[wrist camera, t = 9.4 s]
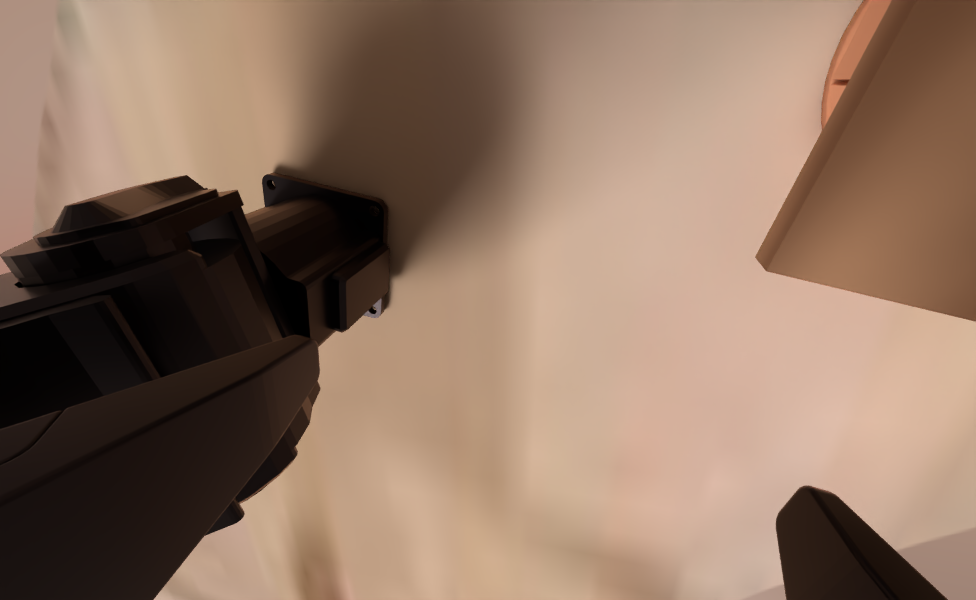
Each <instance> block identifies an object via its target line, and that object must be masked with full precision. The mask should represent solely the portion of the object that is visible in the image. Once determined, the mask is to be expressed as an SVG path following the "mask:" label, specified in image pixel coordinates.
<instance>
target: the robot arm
mask: <svg viewBox="0 0 976 600" xmlns="http://www.w3.org/2000/svg"><path fill="white" fill-rule="evenodd" d="M272 181H273V182H274V183H275V185H276V187H275V186H274V185H273V183H272ZM262 185H263V194H264V202H265V207H264V208H262V209H259V210H256V211H254V212H251V213H248V214H245V215H244V212H243V210H242V207H241V206H243V205H244V204H243V202H242V199H241V197H240V195H239V192H238V190H232V191H225V192H217V189H209V190H208V189H207V188H203V187H202V186H200V185H199V184H198V183H196V182H195V181H194V180H192V179H191V178H190V177H188V176H187V175H185V176H179V177H173V178H169V179H164V180H160V181H155V182H151V183H147V184H142V185H138V186H134V187H130V188H125V189H121V190H118V191H114V192H111V193H107V194H104V195H100V196H97V197H94V198H90V199H87V200H83V201H80V202H77V203H73V204H70V205H67V206H65V207H64V208H63V210H62V212H61V214H60V216H59V217H58V219H57V221H56V223H55V225H54V226H53V228H50V229H48V230H46V231H44V232H41V233H39V234H37V235H35V236H34V237H33V238H34V239H31V240H29V241H27V242H25V243H23V244H21V245H18V246H16V247H14V248H12V249H10V250H7V251H5V252H3V253H2V254H0V256H1V258H2V259H3V261H4V262H5V263H6V265H7V266H8V268H9V269H10V270H11V272H9V273H6V274H2V275H0V600H154V598H155V597H156V596H157V595H158V593H159V592H160V591H161V590H162V588H163V587H164V586H165V584H166V583H167V582H168V581H169V579H170V578H171V577H172V576H173V574H174V573H175V572H176V571H177V569H178V568H179V567H180V566H181V564H182V563H183V562H184V561H185V559H186V558H187V557H188V556H189V554H190V553H191V552H192V551H193V549H194V548H195V547H196V546H197V544H198V543H199V542H200V541H201V539H202V538H203V537H204V536H205V535H208V534H210V533H213V532H215V531H218V530H220V529H223V528H225V527H228V526H230V525H233V524H235V523H237V522H239V521H240V520H241V519H242V518H243V517H244V511H243V509H242V507H241V506H240V504H241V503H242V502H244V501H246V500H248V499H249V498H251V497H252V496H254V495H255V494H257V493H258V492H260V491H261V490H262V489H263V488H265V487H266V486H267V485H268V484H269V483H270V482H272V481H273V480H274V479H276V478H277V477H278V476H279V475H280V474H281V473H282V472H283V471H284V470H285V469H286V468H287V467H288V466H289V465H290V464H291V463H292V462H293V460H294V459H295V457H296V456H297V452H298V451H297V449H296V447H295V446H296V445H297V444H298V442H299V440H300V439H301V437H302V435H303V433H304V432H305V430H306V428H307V427H308V425H309V423H310V418H311V412H312V407H313V404H314V402H315V400H316V398H317V396H318V393H319V391H320V386H319V383H318V381H317V380H318V378H319V373H320V368H319V353H318V347H319V346H320V345H321V344H322V343H323V342H324V341H325V340H326V339H328V338H329V337H330V336H331V335H332V334H333V333H334V332H335V331H338V332H344V331H346V330H348V329H349V328H350V327H351V326H352V325H353V324H354V323H355V322H356V321H357V320H358V319H359V318H361V317H362V316H363V315H365V316H368V317H371V318H377V317H379V316H380V315H381V314H382V313H383V312H384V308H385V294H386V293H387V292H388V287H389V263H390V248H389V246H388V244H387V225H388V208H387V205H386V204H385V202H384V201H383V200H381V199H378V198H374V197H370V196H366V195H362V194H358V193H354V192H350V191H346V190H342V189H338V188H334V187H330V186H326V185H322V184H318V183H314V182H310V181H306V180H302V179H298V178H294V177H290V176H286V175H282V174H278V173H271V174H267V175H265V176H264V177H263V179H262ZM374 206H376V207H377V208H378V209H379V214H377V213H376V212H375V211H374V208H373V207H374ZM372 306H374V307H375V308H376V310H374V309H373V308H372ZM776 532H777V539H778V546H779V553H780V559H781V566H782V573H783V580H784V586H785V594H786V600H948V599H947V598H945V596H943V595H942V594H941V593H940V592H939V591H938V590H937V589H936V588H935V587H934V586H933V585H932V584H931V583H930V582H928V581H927V580H926V579H925V578H924V577H923V576H922V575H921V574H920V573H919V572H918V571H917V570H916V569H915V568H914V567H912V566H911V565H910V564H909V563H908V562H907V561H906V560H905V559H904V558H903V557H902V556H901V555H899V554H898V553H897V552H896V551H895V550H894V549H893V548H892V547H891V546H890V545H889V544H888V543H887V542H886V541H885V540H884V539H883V538H881V537H880V536H879V535H878V534H877V533H876V532H875V531H874V530H873V529H872V528H871V527H870V526H869V525H868V524H867V523H865V522H864V521H863V520H862V519H861V518H860V517H859V516H858V515H857V514H856V513H855V512H854V511H853V510H852V509H850V508H849V507H848V506H847V505H846V504H845V503H844V502H843V501H842V500H841V499H840V498H839V497H838V496H836V495H835V494H833V493H831V492H829V491H826V490H822V489H819V488H816V487H812V486H803V487H800V488H799V489H798V490H797V491H796V493H795V494H794V495H793V496H792V497H791V499H790V500H789V501H788V502H787V503H786V504H785V506H784V507H783V508H782V509H781V510H780V512H779V513H778V516H777V519H776Z"/></svg>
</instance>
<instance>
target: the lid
mask: <svg viewBox="0 0 976 600" xmlns="http://www.w3.org/2000/svg"><path fill="white" fill-rule="evenodd" d="M755 258H756V259H757V260H758V261H759V263H760V264H761V265H762V266H763V268H764V269H765V270H766V271H768V272H772V273H776V274H780V275H785V276H789V277H793V278H797V279H801V280H805V281H809V282H814V283H818V284H822V285H826V286H830V287H834V288H839V289H843V290H847V291H851V292H855V293H859V294H864V295H868V296H872V297H876V298H880V299H884V300H888V301H893V302H897V303H901V304H905V305H909V306H913V307H918V308H922V309H926V310H930V311H934V312H938V313H943V314H947V315H951V316H955V317H959V318H963V319H968V320H972V321H976V0H892V1H891V3H890V5H889V6H888V8H887V10H886V12H885V14H884V16H883V18H882V20H881V21H880V23H879V25H878V27H877V29H876V31H875V33H874V35H873V36H872V38H871V40H870V42H869V44H868V46H867V48H866V50H865V52H864V53H863V55H862V57H861V59H860V61H859V63H858V65H857V67H856V68H855V70H854V72H853V74H852V76H851V78H850V80H849V82H848V84H847V85H846V87H845V89H844V91H843V93H842V95H841V97H840V99H839V100H838V102H837V104H836V106H835V108H834V110H833V112H832V114H831V115H830V117H829V119H828V121H827V123H826V125H825V127H824V129H823V131H822V132H821V134H820V136H819V138H818V140H817V142H816V144H815V146H814V147H813V149H812V151H811V153H810V155H809V157H808V159H807V161H806V163H805V164H804V166H803V168H802V170H801V172H800V174H799V176H798V178H797V179H796V181H795V183H794V185H793V187H792V189H791V191H790V193H789V195H788V196H787V198H786V200H785V202H784V204H783V206H782V208H781V210H780V211H779V213H778V215H777V217H776V219H775V221H774V223H773V225H772V226H771V228H770V230H769V232H768V234H767V236H766V238H765V240H764V242H763V243H762V245H761V247H760V249H759V251H758V253H757V255H756V257H755Z"/></svg>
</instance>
